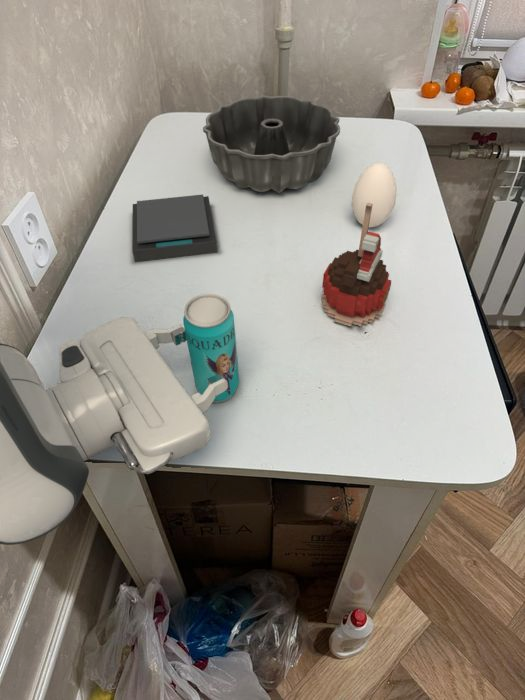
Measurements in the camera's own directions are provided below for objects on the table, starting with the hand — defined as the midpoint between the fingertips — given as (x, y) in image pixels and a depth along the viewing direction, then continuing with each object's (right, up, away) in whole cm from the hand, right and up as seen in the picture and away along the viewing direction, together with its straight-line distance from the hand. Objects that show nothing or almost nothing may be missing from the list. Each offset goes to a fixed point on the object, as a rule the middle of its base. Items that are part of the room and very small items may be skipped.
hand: (203, 355), depth 60 cm
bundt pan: (+9, +38, +43) cm, 58 cm away
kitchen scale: (-9, +22, +30) cm, 38 cm away
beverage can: (+1, -5, +7) cm, 8 cm away
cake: (+21, +7, +17) cm, 28 cm away
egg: (+26, +23, +30) cm, 47 cm away
